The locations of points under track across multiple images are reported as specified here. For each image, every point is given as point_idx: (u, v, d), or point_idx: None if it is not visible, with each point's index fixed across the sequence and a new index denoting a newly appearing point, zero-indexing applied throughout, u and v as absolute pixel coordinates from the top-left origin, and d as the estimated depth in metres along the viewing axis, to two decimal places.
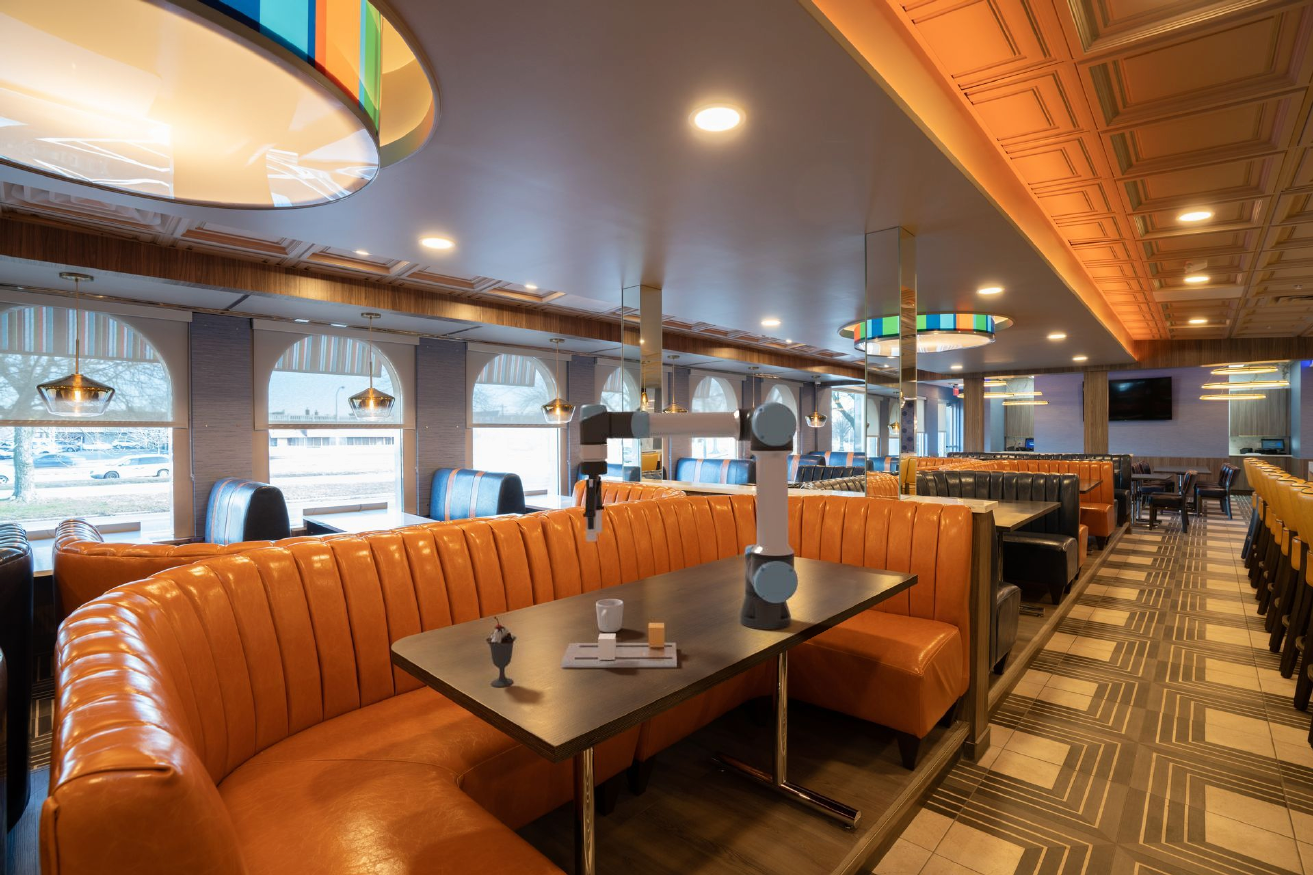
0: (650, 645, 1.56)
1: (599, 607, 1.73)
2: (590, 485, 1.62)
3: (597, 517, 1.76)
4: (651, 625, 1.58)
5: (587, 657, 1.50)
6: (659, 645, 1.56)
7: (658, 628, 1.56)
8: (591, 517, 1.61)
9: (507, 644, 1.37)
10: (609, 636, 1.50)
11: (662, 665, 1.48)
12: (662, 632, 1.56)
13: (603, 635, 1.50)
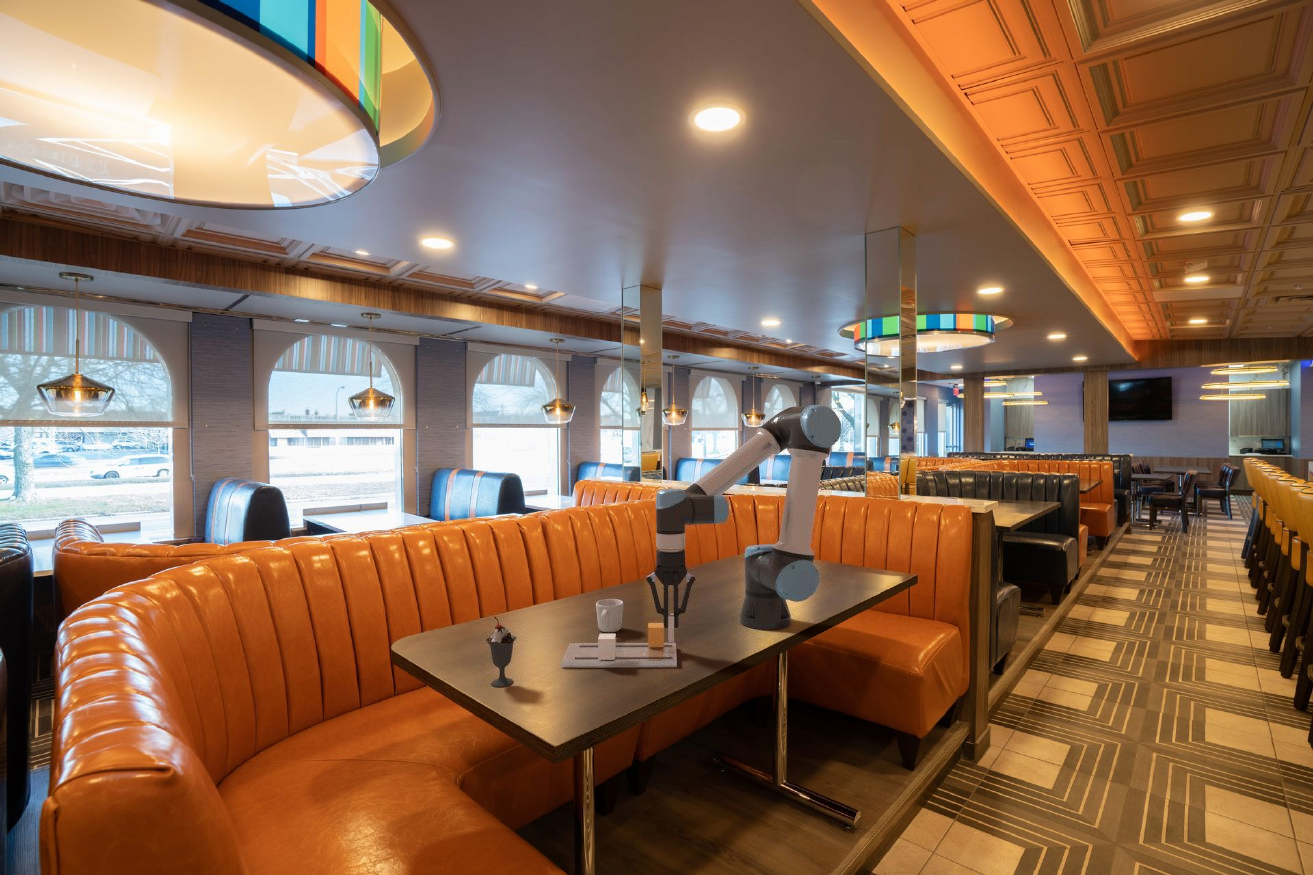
0: (650, 645, 1.56)
1: (599, 607, 1.73)
2: None
3: None
4: (650, 625, 1.58)
5: (587, 657, 1.50)
6: (659, 645, 1.56)
7: (658, 628, 1.56)
8: (663, 615, 1.58)
9: (507, 644, 1.37)
10: (609, 636, 1.50)
11: (662, 665, 1.48)
12: (662, 632, 1.56)
13: (603, 635, 1.50)
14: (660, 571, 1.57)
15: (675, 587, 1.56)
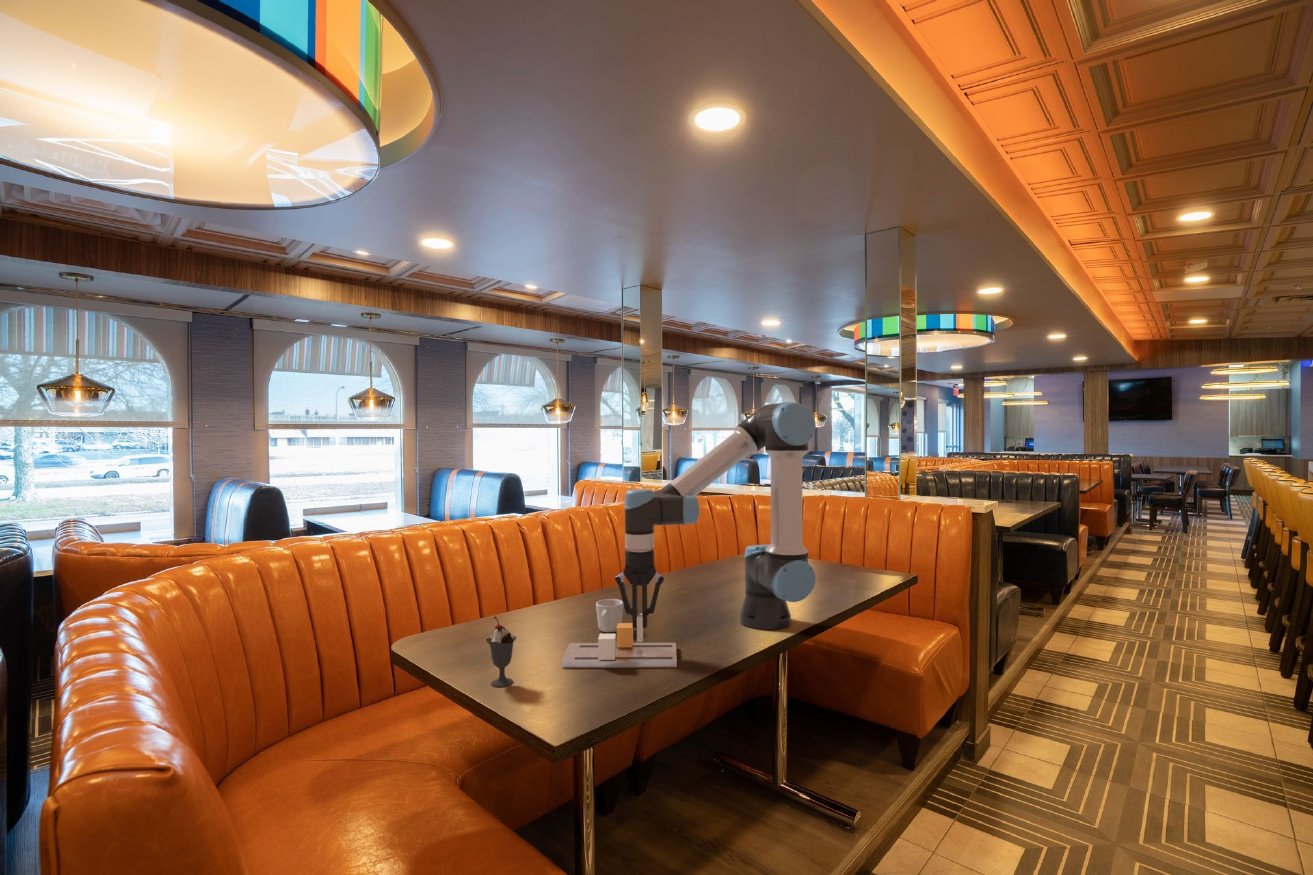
0: (618, 645, 1.56)
1: (599, 607, 1.73)
2: None
3: None
4: (619, 625, 1.58)
5: (587, 657, 1.50)
6: (627, 645, 1.56)
7: (626, 628, 1.56)
8: None
9: (507, 644, 1.37)
10: (609, 636, 1.50)
11: (662, 665, 1.48)
12: (630, 632, 1.56)
13: (603, 635, 1.50)
14: (629, 571, 1.57)
15: (643, 587, 1.56)
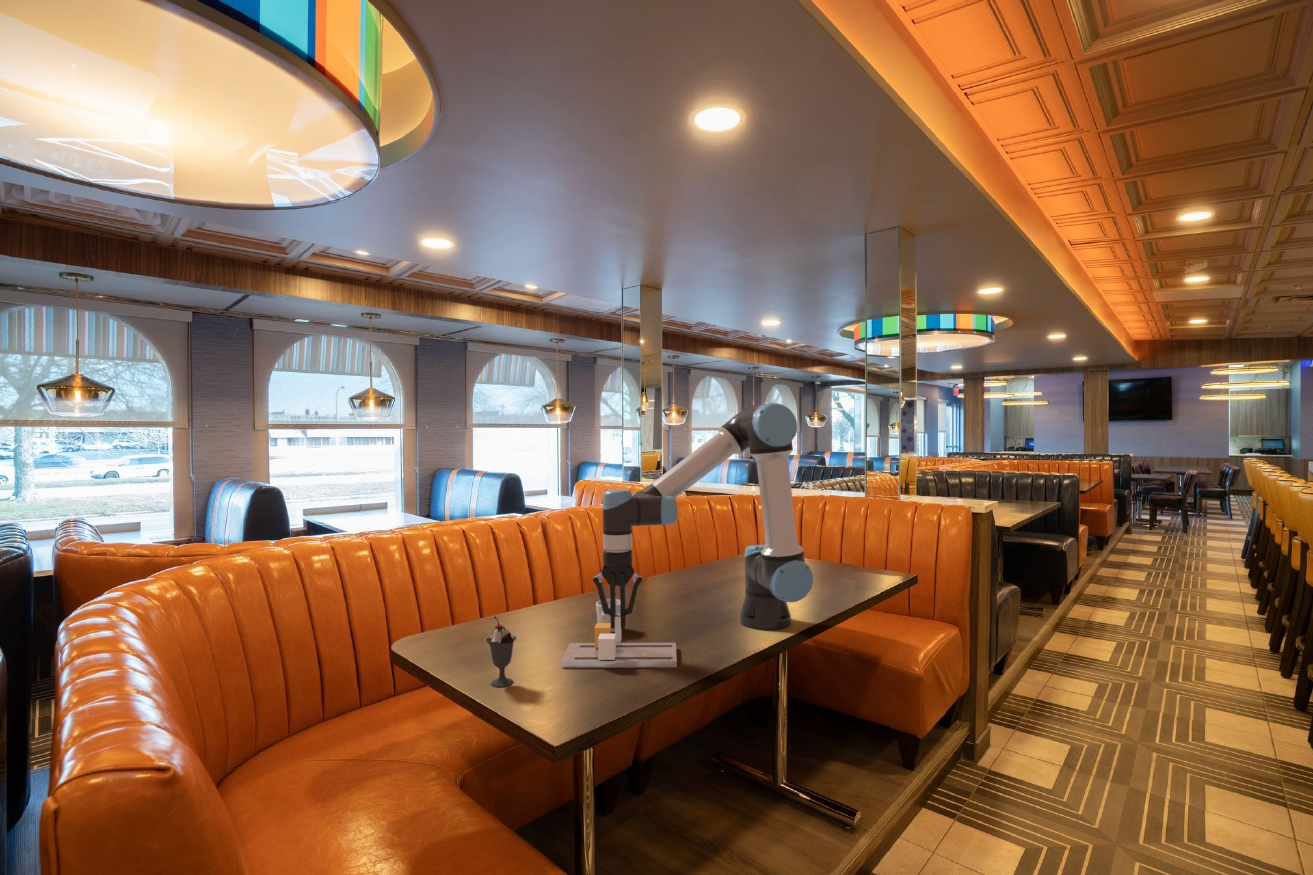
0: (596, 645, 1.56)
1: (599, 607, 1.73)
2: None
3: None
4: (597, 625, 1.58)
5: (587, 657, 1.50)
6: None
7: (604, 628, 1.56)
8: None
9: (507, 644, 1.37)
10: (609, 636, 1.50)
11: (662, 665, 1.48)
12: (608, 632, 1.56)
13: (603, 635, 1.50)
14: (607, 572, 1.57)
15: (621, 588, 1.56)
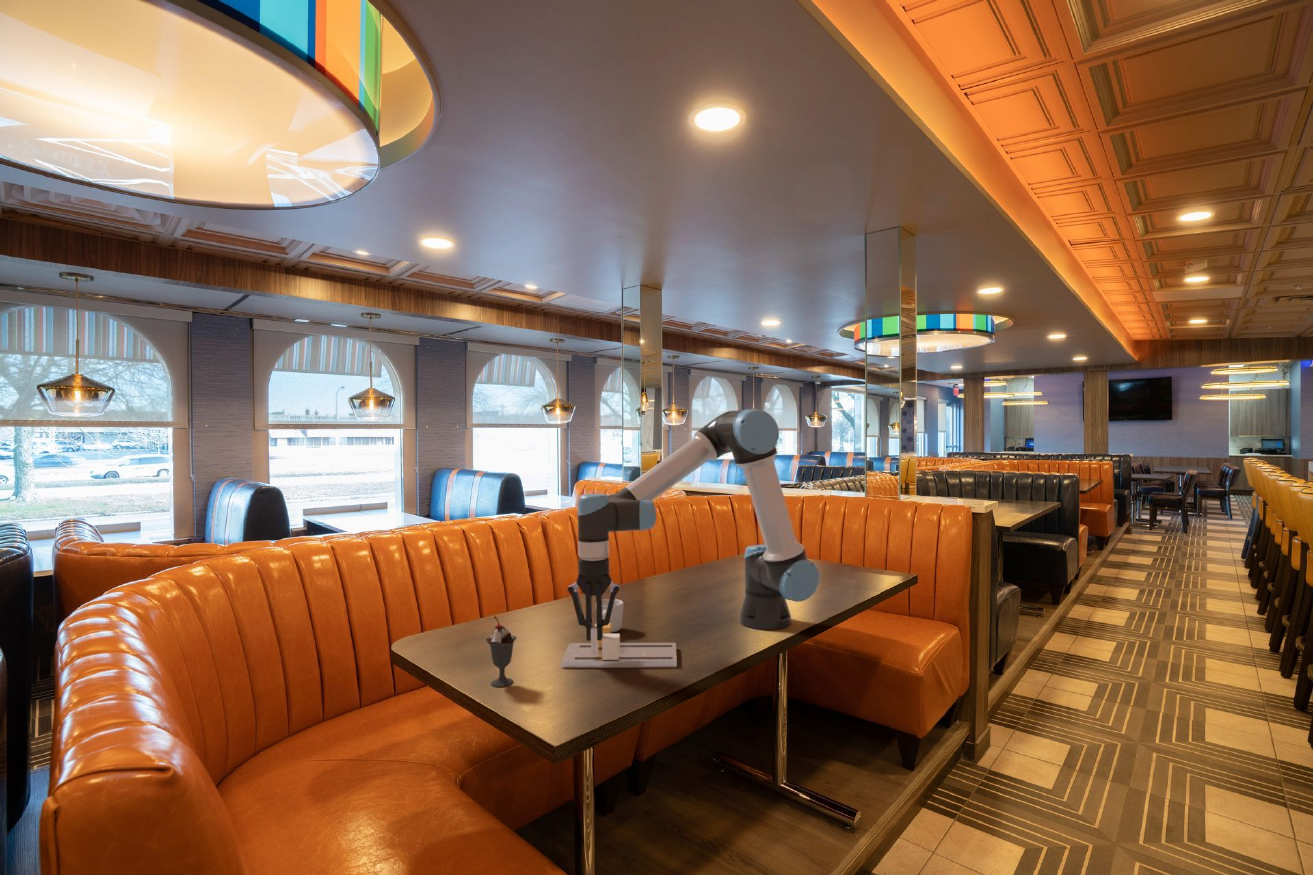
0: None
1: None
2: None
3: None
4: None
5: (587, 657, 1.50)
6: None
7: (604, 628, 1.56)
8: None
9: (507, 644, 1.37)
10: (613, 636, 1.50)
11: (662, 665, 1.48)
12: (607, 632, 1.56)
13: (607, 635, 1.50)
14: (582, 581, 1.49)
15: (598, 598, 1.48)
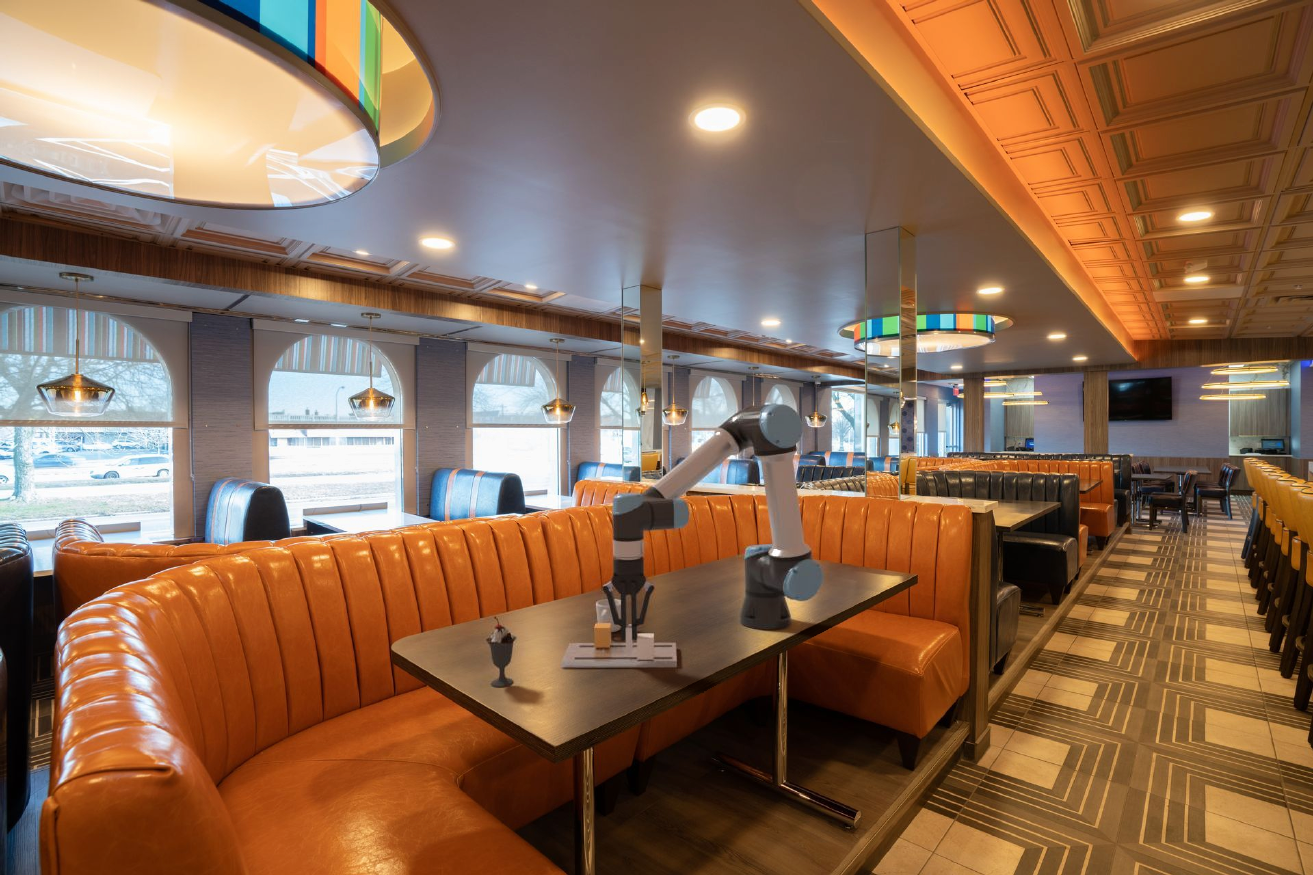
0: (595, 645, 1.56)
1: (599, 607, 1.73)
2: None
3: None
4: (597, 625, 1.58)
5: (587, 657, 1.50)
6: (604, 645, 1.56)
7: (604, 628, 1.56)
8: None
9: (507, 644, 1.37)
10: (648, 636, 1.50)
11: (662, 665, 1.48)
12: (607, 632, 1.56)
13: (641, 635, 1.50)
14: (617, 580, 1.49)
15: (633, 597, 1.48)
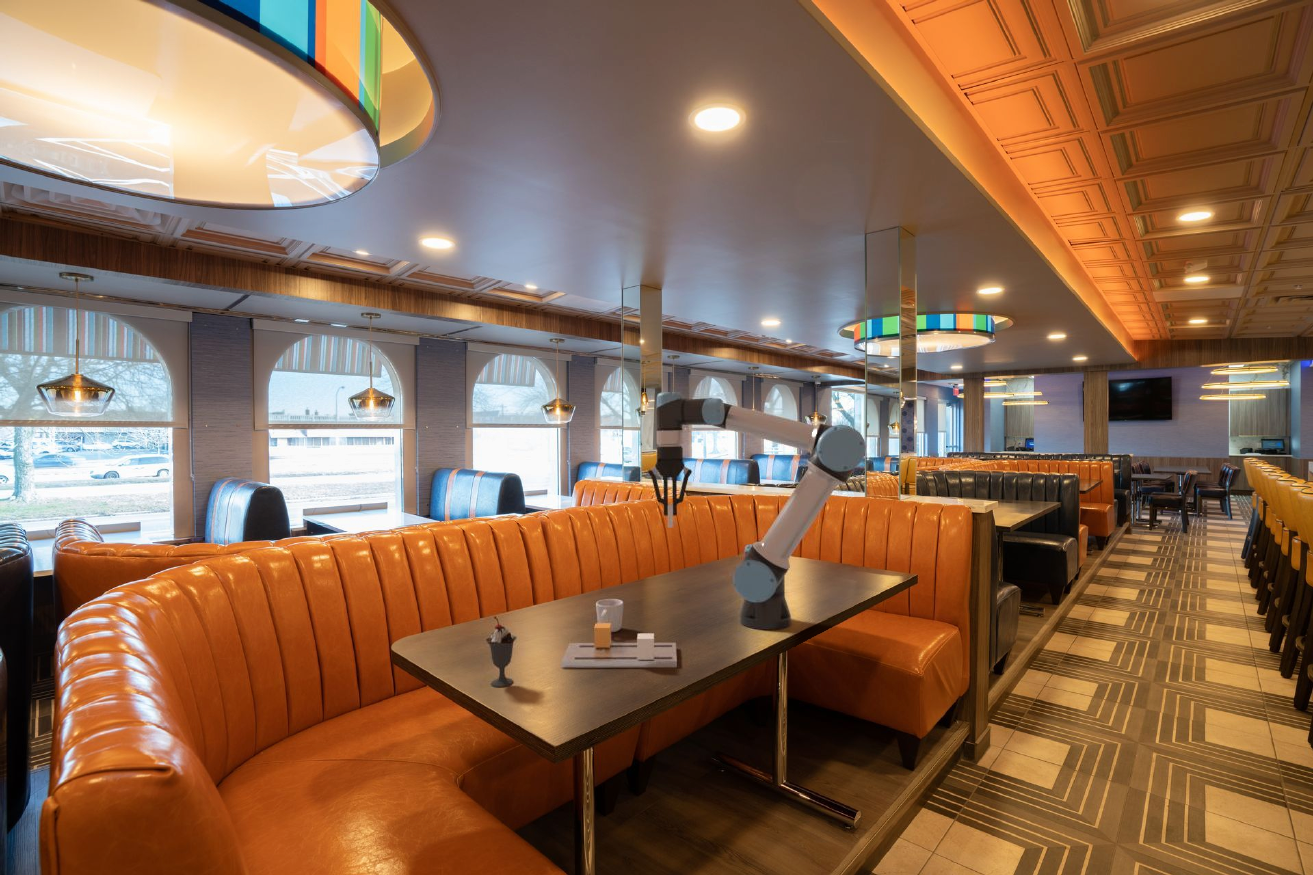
0: (595, 645, 1.56)
1: (599, 607, 1.73)
2: None
3: None
4: (597, 625, 1.58)
5: (587, 657, 1.50)
6: (604, 645, 1.56)
7: (604, 628, 1.56)
8: (663, 504, 1.77)
9: (507, 644, 1.37)
10: (648, 636, 1.50)
11: (662, 665, 1.48)
12: (607, 632, 1.56)
13: (641, 635, 1.50)
14: (660, 465, 1.76)
15: (674, 478, 1.76)
